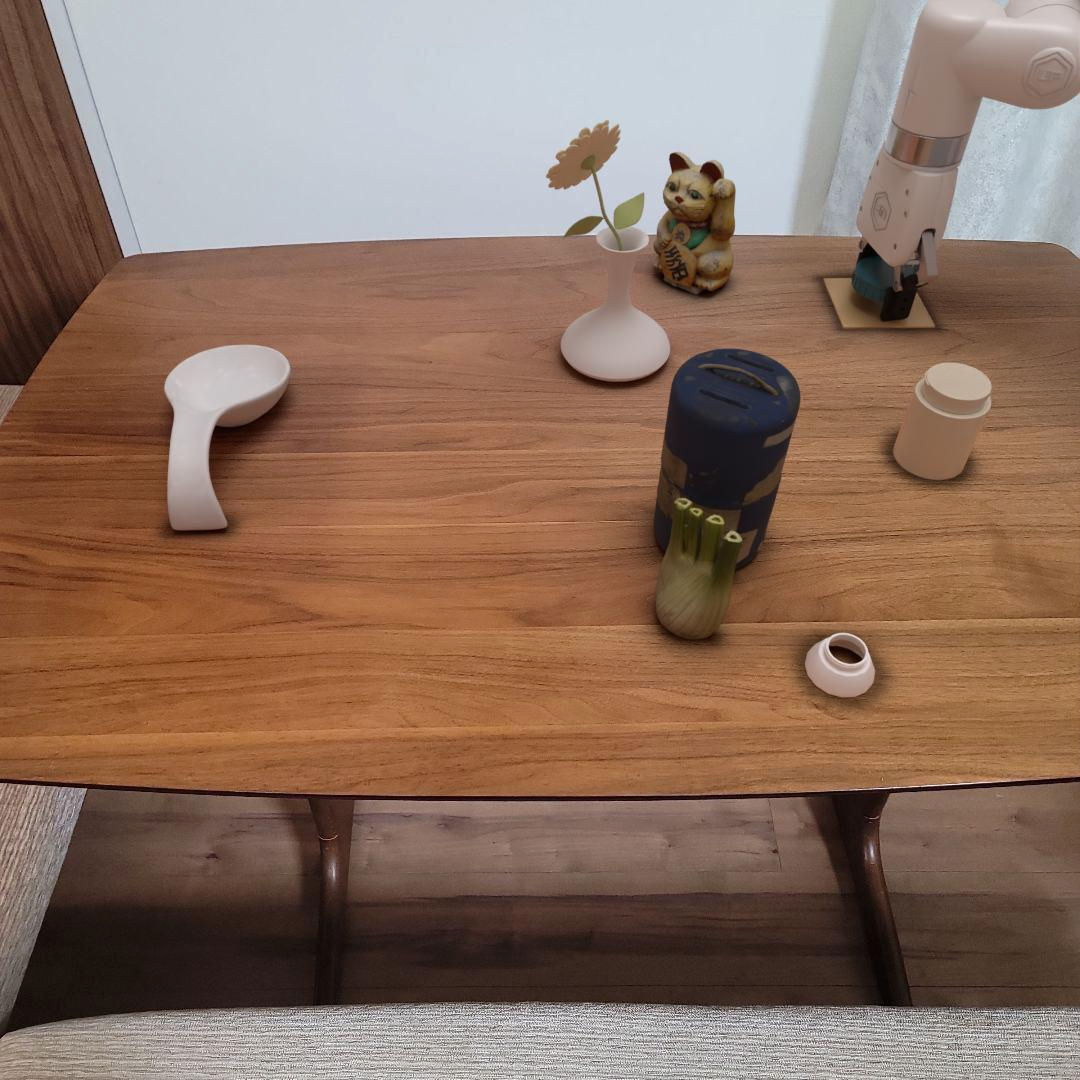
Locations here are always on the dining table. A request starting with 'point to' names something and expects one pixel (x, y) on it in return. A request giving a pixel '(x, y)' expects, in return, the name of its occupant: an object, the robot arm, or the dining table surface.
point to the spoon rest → (214, 420)
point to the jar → (943, 421)
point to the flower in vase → (609, 274)
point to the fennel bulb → (696, 573)
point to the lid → (874, 277)
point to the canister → (727, 442)
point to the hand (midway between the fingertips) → (879, 299)
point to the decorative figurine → (696, 226)
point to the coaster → (870, 308)
